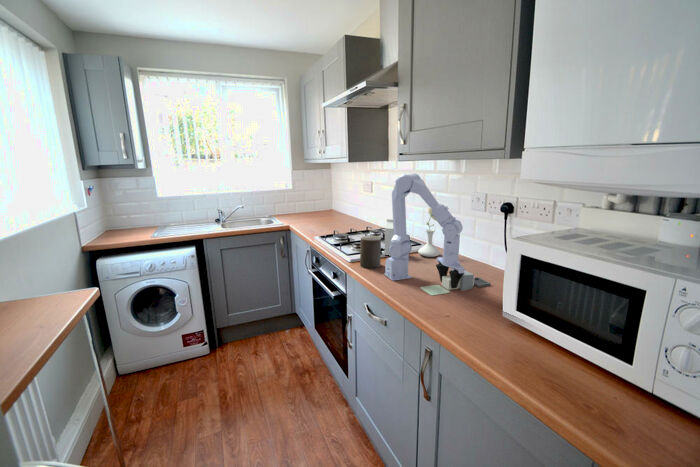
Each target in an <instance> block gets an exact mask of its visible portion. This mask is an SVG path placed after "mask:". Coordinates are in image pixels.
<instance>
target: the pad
mask: <svg viewBox="0 0 700 467" xmlns="http://www.w3.org/2000/svg"><path fill="white" fill-rule="evenodd" d="M419 289H421V290H422V291H424V292H425V293H426V294H428V295H429V296H431V297H432V296H438V295H444V294H449V293H451V291H450V290H448V289H446V288H445V287H443V286H442V285H440V284H434V285H433V284H432V285H426V286H420V287H419Z"/></svg>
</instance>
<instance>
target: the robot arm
mask: <svg viewBox="0 0 700 467" xmlns="http://www.w3.org/2000/svg"><path fill="white" fill-rule="evenodd" d="M410 193H413V194H417V195H419V196H420V197H421V199H422V200H423V201H424V202H425V203H426V205H428V207H429V208H431V209H432V212H431V214H432V215H433V217H434V218H435V219H436V220H437V221H436V220H435V221H436V222H437V223H438V225H439V226H440V227H441V228H442V229H441V231H442V234H443V237H444V239H443V250H442V256H438V257H437V256H436V263H438V264H436V265H435V267H436V269H437V272H438V275H439V279H440V280H439V281H440V282H441V283H442V276H448V273H449V275H450V277H451V288H457V285H458V283H459V280H460V279H461V277H462V276H463V274H464V270H465V267H464V266H462V265H461V264H460V263H461V262H460V261H459V255H460V254H459V253H460V241H461V239H460V238H461V237H460V236H461V232H462V231H463V224H462V222H461V221H460V220H459V219H457V218H456V217H455V216H453V215H452V213H451V212H450V211H449V207H448V206H447V205H445V204H441V203H439V202H438V201H437V199H436V198H435V196H434V195H433V193H432V192H431V191H430V190H429V188H428V187H427V185H426V183H425V181H424V180H423V179H422V178H421V177H420V175H419V174H417V173H411V174H401V175H400V176H398V177H397V178H396V179H395V184H394V187H393V189H392V191H391V205H392V208H391V209H392V210H391V211H392V220H393V230H394V236H393V238H392V239H391V245H390V248H389V253H390V255H391V256H389V257H387V258H386V259H385V262H384V263H385V265H384V266H385V268H384V269H385V271H384V274H383V275H384V276H386V277H387V278H388V279H389V280H391V281H392V282H393V281H399V280H407V279H412V278H413V276H411V275H410V274H409V256H410V254H409V253H411V251H412V248H413V246H412V244H411V241H410V237H409V235H408V234H407V214H406V212H407V211H406V210H407V209H406V197H407V196H408V195H409V194H410ZM450 269H454V271H450Z"/></svg>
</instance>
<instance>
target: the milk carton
mask: <svg viewBox="0 0 700 467" xmlns="http://www.w3.org/2000/svg"><path fill="white" fill-rule="evenodd" d="M393 236H394V230H393V219H386V222H385V226H384V253H383V254H386V255H389V256H388V257H392V256H391V255H390V253H389V248H390V245H391V239H392V238H393Z"/></svg>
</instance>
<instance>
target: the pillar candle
mask: <svg viewBox="0 0 700 467" xmlns="http://www.w3.org/2000/svg"><path fill="white" fill-rule="evenodd" d="M381 247H382V238H381V237H380V236H378V235H377V236H376V235H363V236H361V237H360V251H359V252H360V253H359V254H360V256H359V259H360V260H359V263H360V264H359V265H360V267H361V268H364V269H370V270H372V269H378V268H380V267H381V254H382V252H381V250H382V248H381Z"/></svg>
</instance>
